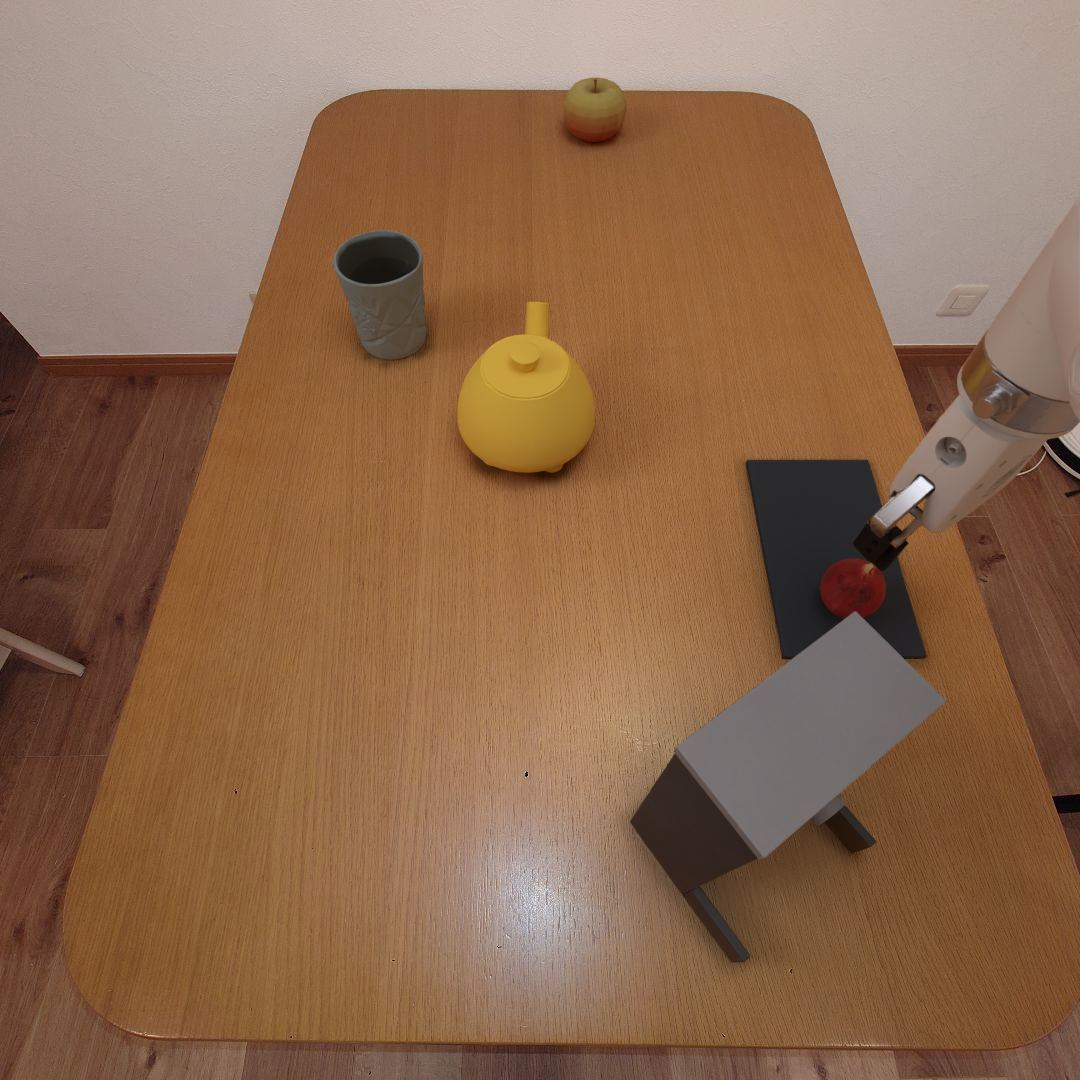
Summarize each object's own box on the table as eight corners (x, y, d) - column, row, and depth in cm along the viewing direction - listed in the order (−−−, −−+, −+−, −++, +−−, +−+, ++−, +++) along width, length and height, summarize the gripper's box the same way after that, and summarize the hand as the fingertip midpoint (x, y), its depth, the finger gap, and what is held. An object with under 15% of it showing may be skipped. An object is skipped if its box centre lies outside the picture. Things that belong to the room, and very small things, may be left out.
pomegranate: (864, 638, 71) (899, 604, 64) (805, 621, 72) (834, 585, 65) (870, 589, 73) (904, 550, 67) (813, 573, 74) (842, 533, 68)
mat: (924, 658, 70) (927, 656, 70) (782, 658, 70) (784, 656, 70) (866, 462, 83) (868, 459, 82) (745, 462, 82) (746, 459, 82)
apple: (595, 110, 120) (598, 58, 113) (635, 135, 116) (642, 83, 109) (550, 131, 117) (551, 79, 110) (590, 158, 113) (594, 106, 106)
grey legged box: (859, 847, 61) (1033, 785, 40) (730, 964, 57) (848, 964, 36) (752, 724, 67) (855, 610, 45) (627, 821, 62) (675, 746, 41)
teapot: (480, 355, 91) (471, 264, 79) (602, 368, 90) (611, 278, 78) (448, 483, 81) (433, 400, 69) (585, 498, 80) (594, 417, 68)
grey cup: (342, 352, 91) (317, 274, 81) (376, 300, 96) (357, 220, 86) (415, 371, 89) (399, 294, 79) (446, 318, 94) (435, 238, 84)
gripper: (995, 482, 40) (873, 615, 55) (1164, 357, 45) (1012, 508, 60) (890, 401, 43) (801, 546, 58) (1060, 292, 49) (939, 451, 63)
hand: (909, 527), depth 59 cm, fingers open, 9 cm apart
